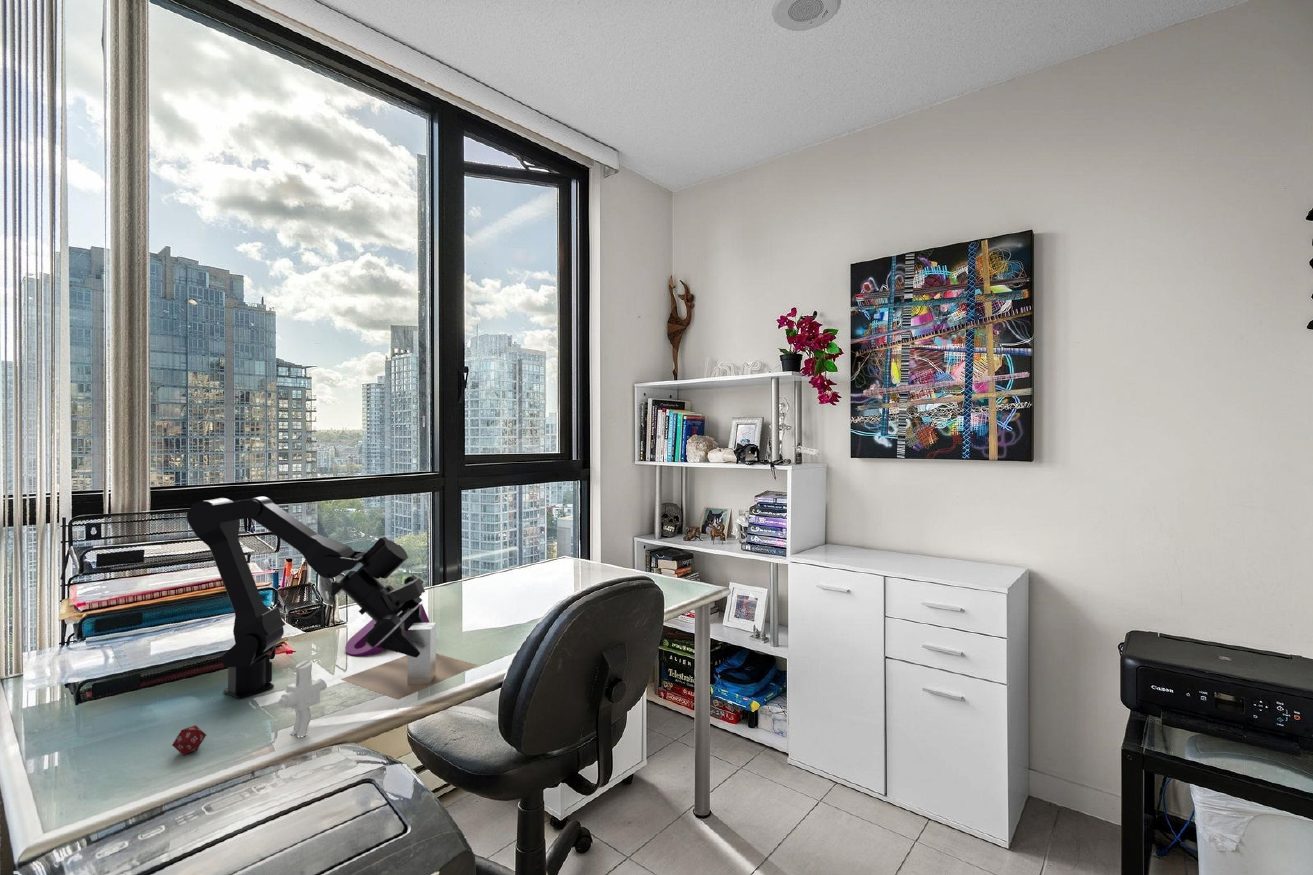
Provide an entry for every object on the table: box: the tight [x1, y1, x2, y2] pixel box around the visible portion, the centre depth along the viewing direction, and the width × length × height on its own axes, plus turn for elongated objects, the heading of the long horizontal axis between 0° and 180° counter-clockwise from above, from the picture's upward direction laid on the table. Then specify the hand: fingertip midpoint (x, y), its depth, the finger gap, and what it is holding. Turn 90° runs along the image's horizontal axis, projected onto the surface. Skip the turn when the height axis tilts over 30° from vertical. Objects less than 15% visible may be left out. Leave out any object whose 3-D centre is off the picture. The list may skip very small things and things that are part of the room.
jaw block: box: [407, 622, 437, 684], centre depth 122 cm, size 4×4×11 cm
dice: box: [171, 725, 207, 756], centre depth 96 cm, size 4×4×4 cm
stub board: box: [341, 653, 478, 700], centre depth 126 cm, size 20×18×4 cm
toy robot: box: [278, 660, 328, 737], centre depth 103 cm, size 4×8×12 cm, turn 155°
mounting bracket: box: [344, 603, 430, 657], centre depth 144 cm, size 10×8×18 cm
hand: (424, 647), depth 122 cm, fingers open, 9 cm apart
